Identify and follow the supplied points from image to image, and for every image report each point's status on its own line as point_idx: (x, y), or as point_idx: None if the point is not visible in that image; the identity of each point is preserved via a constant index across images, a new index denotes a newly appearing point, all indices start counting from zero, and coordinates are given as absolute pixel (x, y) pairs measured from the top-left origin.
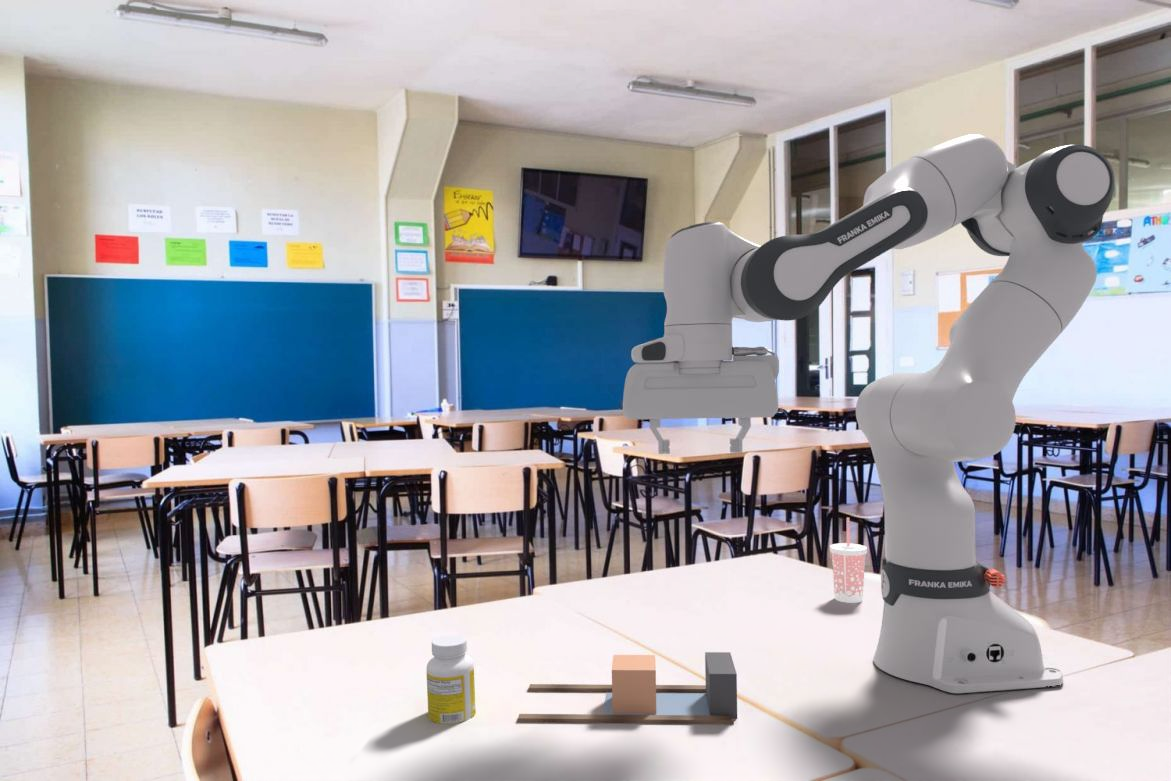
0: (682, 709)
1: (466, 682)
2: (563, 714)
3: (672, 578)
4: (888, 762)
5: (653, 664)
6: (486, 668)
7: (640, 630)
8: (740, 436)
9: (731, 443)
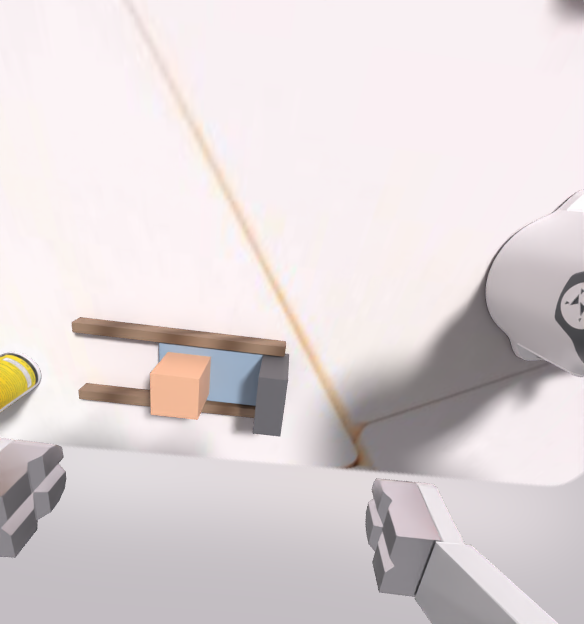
0: (234, 387)
1: (3, 408)
2: (120, 395)
3: None
4: (381, 461)
5: (196, 404)
6: (2, 223)
7: (205, 69)
8: (439, 619)
9: (375, 570)
